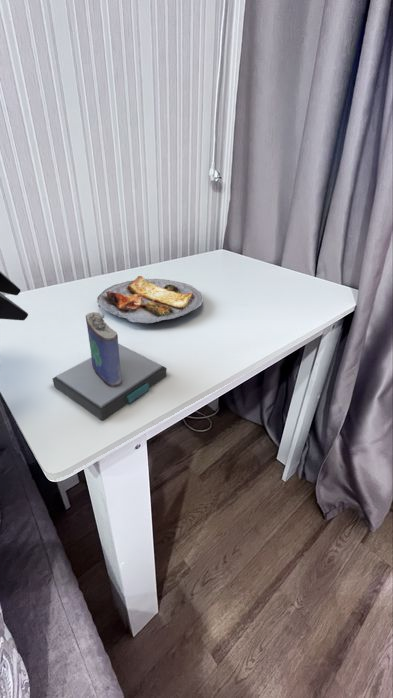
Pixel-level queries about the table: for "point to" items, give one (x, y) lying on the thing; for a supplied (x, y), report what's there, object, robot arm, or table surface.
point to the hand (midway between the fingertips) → (22, 304)
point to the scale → (106, 399)
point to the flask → (104, 350)
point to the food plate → (150, 299)
